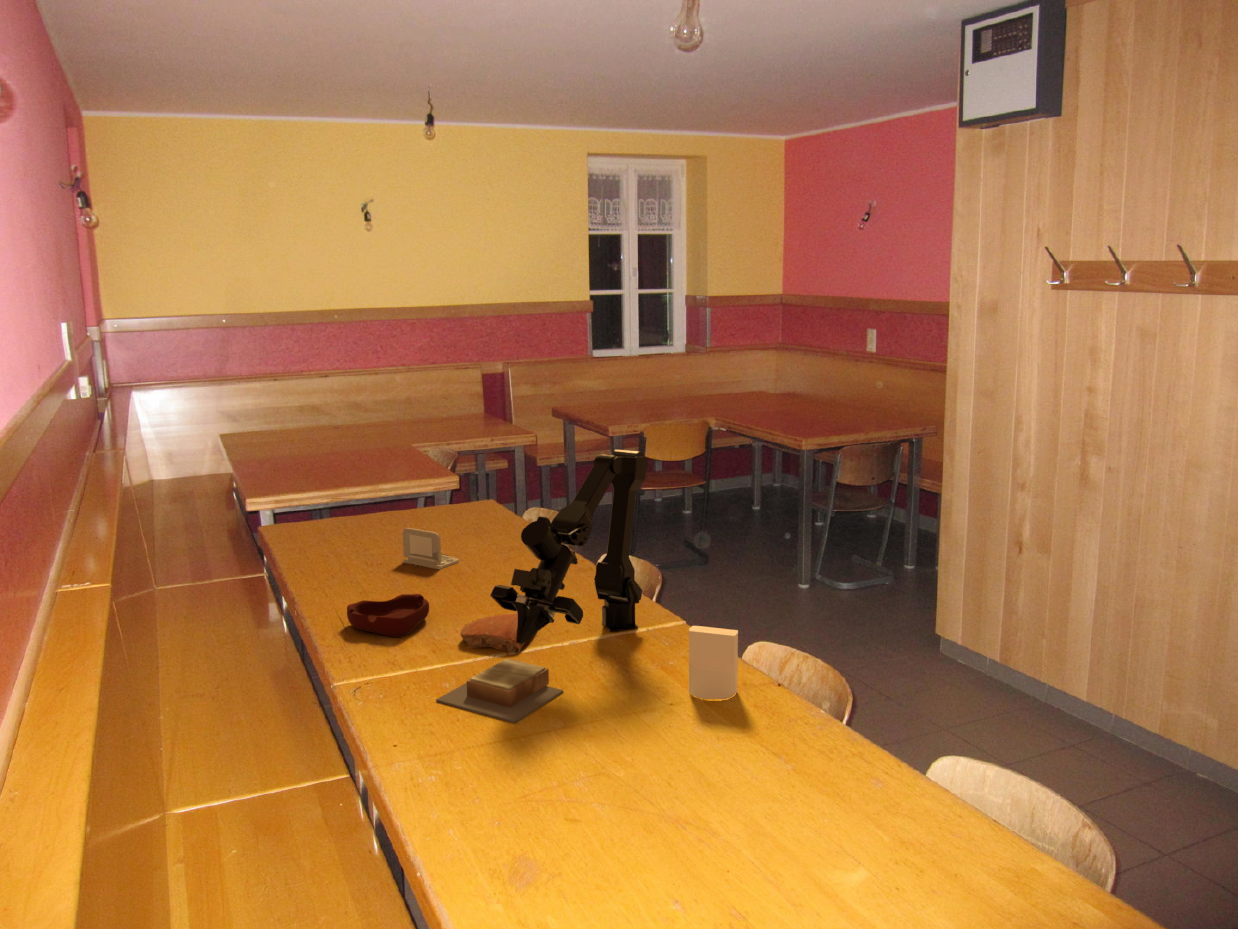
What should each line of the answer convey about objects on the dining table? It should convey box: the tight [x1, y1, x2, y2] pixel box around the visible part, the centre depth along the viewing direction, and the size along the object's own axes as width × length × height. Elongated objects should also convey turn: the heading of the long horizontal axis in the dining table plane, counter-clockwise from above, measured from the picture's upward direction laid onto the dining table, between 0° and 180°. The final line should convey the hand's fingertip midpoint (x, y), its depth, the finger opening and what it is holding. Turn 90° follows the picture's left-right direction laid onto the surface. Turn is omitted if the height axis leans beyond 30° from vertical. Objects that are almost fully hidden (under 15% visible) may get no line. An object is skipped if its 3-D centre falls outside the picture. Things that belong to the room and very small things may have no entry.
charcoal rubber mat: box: [435, 682, 564, 724], centre depth 180 cm, size 15×18×1 cm
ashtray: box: [346, 593, 430, 638], centre depth 216 cm, size 18×16×5 cm
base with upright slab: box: [688, 625, 739, 700], centre depth 180 cm, size 9×9×12 cm
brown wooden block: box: [466, 658, 550, 707], centre depth 181 cm, size 3×10×12 cm
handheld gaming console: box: [402, 527, 460, 570], centre depth 266 cm, size 13×9×10 cm
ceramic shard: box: [459, 613, 526, 653], centre depth 209 cm, size 15×6×15 cm
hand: (518, 643), depth 183 cm, fingers closed
